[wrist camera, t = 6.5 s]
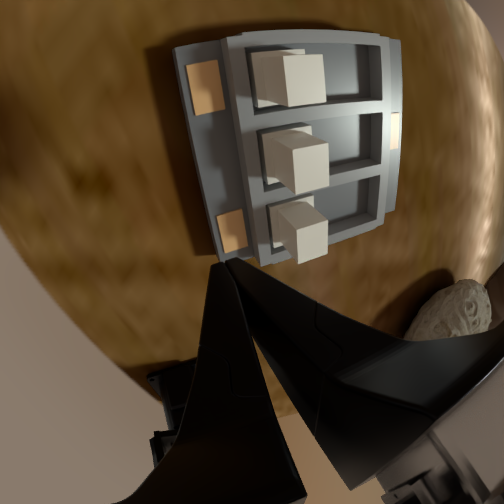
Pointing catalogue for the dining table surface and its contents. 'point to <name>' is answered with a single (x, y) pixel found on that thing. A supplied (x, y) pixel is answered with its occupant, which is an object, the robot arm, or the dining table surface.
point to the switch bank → (317, 115)
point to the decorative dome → (496, 297)
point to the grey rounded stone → (452, 313)
